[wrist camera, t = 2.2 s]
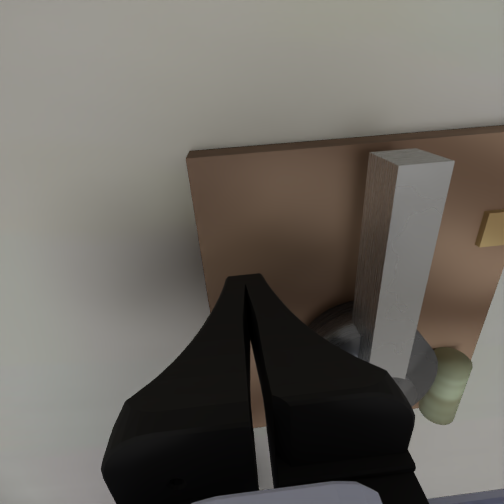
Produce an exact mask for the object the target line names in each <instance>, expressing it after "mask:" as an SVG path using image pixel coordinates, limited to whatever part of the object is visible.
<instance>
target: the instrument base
mask: <svg viewBox="0 0 504 504" xmlns="http://www.w3.org/2000/svg"><path fill="white" fill-rule="evenodd" d="M414 148H417V149H420V150H423V151H426V152H429V153H432V154H435V155H438V156H441V157H444V158H448V159H451V160H454V161H455V163H454V167H453V171H452V176H451V180H450V185H449V189H448V193H447V198H446V202H445V206H444V211H443V215H442V220H441V224H440V228H439V233H438V237H437V241H436V246H435V250H434V255H433V259H432V263H431V268H430V272H429V276H428V281H427V285H426V290H425V294H424V298H423V303H422V307H421V311H420V316H419V320H418V325H417V330H418V331H419V332H420V334H421V335H422V336H423V337H424V339H425V340H426V341H427V342H428V344H429V345H430V346H431V347H432V349H433V350H434V352H435V354H436V357H437V361H438V371H437V375H436V378H435V381H434V383H433V385H432V386H431V388H430V389H429V391H428V392H427V393H426V394H425V396H424V397H423V398H422V399H421V400H419V401H418V402H417V403H416V404H415V405H413V406H412V409H415V408H419V409H420V411H421V413H422V414H423V416H424V417H426V418H427V419H428V420H430V421H431V422H433V423H436V424H440V425H447V424H450V423H451V422H452V421H453V419H454V417H455V414H456V411H457V408H458V406H459V403H460V400H461V397H462V395H463V392H464V389H465V386H466V384H467V381H468V378H469V375H470V373H471V370H472V362H471V358H472V355H473V352H474V350H475V347H476V344H477V341H478V338H479V335H480V333H481V330H482V327H483V324H484V321H485V318H486V316H487V313H488V310H489V307H490V304H491V301H492V299H493V296H494V293H495V290H496V287H497V284H498V282H499V279H500V276H501V273H502V270H503V267H504V125H500V126H488V127H476V128H464V129H452V130H440V131H427V132H415V133H403V134H391V135H379V136H367V137H355V138H342V139H330V140H318V141H306V142H294V143H282V144H270V145H257V146H245V147H233V148H221V149H209V150H197V151H189V153H188V155H187V157H186V163H187V169H188V175H189V182H190V188H191V194H192V201H193V207H194V213H195V219H196V226H197V232H198V238H199V245H200V251H201V257H202V263H203V270H204V276H205V282H206V289H207V295H208V301H209V307H210V313H211V312H212V310H213V308H214V306H215V304H216V302H217V300H218V298H219V296H220V294H221V292H222V289H223V287H224V284H225V280H226V278H227V277H228V276H237V275H246V274H256V273H260V274H262V275H263V277H264V278H265V280H266V282H267V283H268V285H269V286H270V287H271V289H272V290H273V291H274V293H275V294H276V295H277V296H278V297H279V299H280V300H281V301H282V302H283V303H284V304H285V305H286V306H287V308H288V309H289V310H290V311H291V312H292V313H293V314H294V315H295V316H297V317H298V318H299V319H300V320H301V321H302V322H303V323H304V324H306V325H307V326H308V325H309V324H310V323H311V322H312V321H313V320H314V319H315V318H317V317H318V316H319V315H321V314H322V313H324V312H325V311H327V310H329V309H331V308H333V307H335V306H337V305H340V304H343V303H346V302H350V301H354V294H355V285H356V275H357V265H358V256H359V246H360V237H361V227H362V217H363V208H364V198H365V188H366V179H367V169H368V159H369V152H378V151H390V150H402V149H414ZM250 394H251V410H252V421H253V428H257V427H266V418H265V410H264V402H263V396H262V391H261V386H260V381H259V377H258V372H257V368H256V363H255V359H254V354H253V350H252V345H251V340H250Z"/></svg>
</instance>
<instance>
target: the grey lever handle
mask: <svg viewBox="0 0 504 504" xmlns="http://www.w3.org/2000/svg"><path fill="white" fill-rule="evenodd" d="M454 163H455V161H454V160H451V159H448V158H444V157H441V156H438V155H435V154H432V153H429V152H426V151H423V150H420V149H417V148H414V149H402V150H390V151H378V152H369V159H368V169H367V179H366V188H365V198H364V208H363V217H362V227H361V237H360V246H359V256H358V265H357V275H356V285H355V294H354V301H350V302H346V303H343V304H340V305H337V306H335V307H333V308H331V309H329V310H327V311H325V312H324V313H322V314H321V315H319V316H318V317H317V318H315V319H314V320H313V321H312V322H311V323H310V324H309V325H308V327H309V328H310V329H312V330H313V331H314V332H316V333H317V334H318V335H320V336H321V337H323V338H324V339H326V340H328V341H329V342H331V343H332V344H334V345H335V346H337V347H339V348H340V349H342V350H344V351H346V352H348V353H350V354H352V355H354V356H355V357H357V358H360V359H362V360H364V361H366V362H369V363H371V364H373V365H375V366H378V367H380V368H382V369H384V370H386V371H387V372H388V373H389V374H390V376H391V377H392V378H393V379H394V381H395V382H396V383H397V385H398V386H399V387H400V389H401V390H402V392H403V393H404V395H405V396H406V398H407V400H408V401H409V403H410V405H411V407H412V406H413V405H415V404H416V403H417V402H418V401H419V400H421V399H422V398H423V397H424V396H425V394H426V393H427V392H428V391H429V389H430V388H431V386H432V385H433V383H434V381H435V378H436V375H437V371H438V361H437V357H436V354H435V352H434V350H433V349H432V347H431V346H430V345H429V344H428V342H427V341H426V340H425V339H424V337H423V336H422V335H421V334H420V332H419V331H418V330H417V325H418V320H419V316H420V311H421V307H422V303H423V298H424V294H425V290H426V285H427V281H428V276H429V272H430V268H431V263H432V259H433V255H434V250H435V246H436V241H437V237H438V233H439V228H440V224H441V220H442V215H443V211H444V206H445V202H446V198H447V193H448V189H449V185H450V180H451V176H452V171H453V167H454Z"/></svg>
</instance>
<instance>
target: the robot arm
mask: <svg viewBox="0 0 504 504" xmlns="http://www.w3.org/2000/svg"><path fill="white" fill-rule="evenodd" d="M250 340H251V345H252V350H253V354H254V359H255V363H256V368H257V372H258V377H259V381H260V386H261V391H262V396H263V402H264V410H265V418H266V426H267V435H268V443H269V451H270V460H271V468H272V476H273V485H274V489H268V490H260V491H259V485H258V475H257V464H256V453H255V442H254V432H253V421H252V410H251V394H250ZM414 422H415V414H414V412H413V409H412V407H411V405H410V403H409V401H408V400H407V398H406V396H405V395H404V393H403V392H402V390H401V389H400V387H399V386H398V385H397V383H396V382H395V381H394V379H393V378H392V377H391V376H390V374H389V373H388V372H387V371H386V370H384V369H382V368H380V367H378V366H375V365H373V364H371V363H369V362H366V361H364V360H362V359H360V358H357V357H355V356H354V355H352V354H350V353H348V352H346V351H344V350H342V349H340V348H339V347H337V346H335V345H334V344H332V343H331V342H329V341H328V340H326V339H324V338H323V337H321V336H320V335H318V334H317V333H316V332H314V331H313V330H312V329H310V328H309V327H308V326H307V325H306V324H304V323H303V322H302V321H301V320H300V319H299V318H298V317H297V316H295V315H294V314H293V313H292V312H291V311H290V310H289V309H288V308H287V306H286V305H285V304H284V303H283V302H282V301H281V300H280V299H279V297H278V296H277V295H276V294H275V293H274V291H273V290H272V289H271V287H270V286H269V285H268V283H267V282H266V280H265V278H264V277H263V275H262V274H260V273H256V274H246V275H237V276H228V277H227V278H226V280H225V284H224V287H223V289H222V292H221V294H220V296H219V298H218V300H217V302H216V304H215V306H214V308H213V310H212V312H211V313H210V315H209V317H208V318H207V320H206V322H205V323H204V325H203V326H202V328H201V329H200V331H199V332H198V334H197V335H196V336H195V337H194V339H193V340H192V341H191V343H190V344H189V345H188V346H187V347H186V348H185V350H184V351H183V352H182V353H181V354H180V355H179V356H178V357H177V359H176V360H175V361H174V362H173V363H172V364H170V365H169V366H168V367H167V368H166V369H165V370H164V371H163V372H162V373H161V374H160V375H159V376H158V377H156V378H155V379H154V380H153V381H152V382H150V383H149V384H148V385H146V386H145V387H144V388H142V389H141V390H140V391H139V392H137V393H136V394H135V395H133V396H132V397H131V398H129V399H128V400H126V401H125V403H124V405H123V407H122V410H121V412H120V414H119V416H118V418H117V420H116V423H115V425H114V427H113V430H112V433H111V435H110V439H109V442H108V445H107V448H106V451H105V455H104V458H103V462H102V466H101V472H102V475H103V479H104V481H105V483H106V485H107V487H108V488H109V490H110V492H111V494H112V496H113V498H114V500H115V502H116V504H504V489H498V490H491V491H483V492H476V493H469V494H461V495H454V496H446V497H439V498H431V499H427V498H426V496H425V494H424V492H423V490H422V488H421V486H420V484H419V482H418V480H417V478H416V476H415V474H414V472H413V471H415V469H416V467H415V463H414V461H413V459H412V457H411V455H410V453H409V451H408V446H409V442H410V439H411V435H412V431H413V428H414Z"/></svg>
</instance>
